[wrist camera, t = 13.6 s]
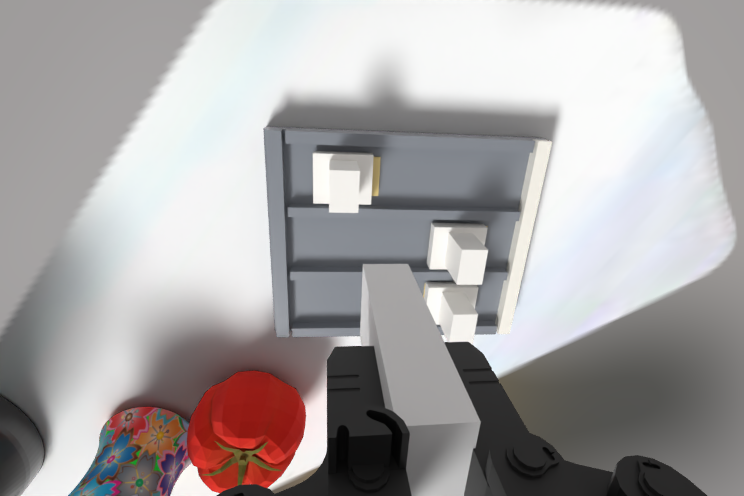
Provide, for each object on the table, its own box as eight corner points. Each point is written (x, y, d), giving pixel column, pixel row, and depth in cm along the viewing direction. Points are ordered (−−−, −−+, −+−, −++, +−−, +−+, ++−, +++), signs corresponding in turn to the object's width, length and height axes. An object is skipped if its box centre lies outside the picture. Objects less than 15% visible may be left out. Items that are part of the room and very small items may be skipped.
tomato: (225, 439, 38) (201, 519, 31) (191, 368, 34) (155, 441, 27) (319, 419, 38) (316, 494, 31) (295, 346, 34) (286, 412, 28)
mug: (163, 381, 34) (97, 498, 25) (225, 445, 38) (189, 570, 28) (53, 434, 36) (-51, 567, 26) (123, 492, 39) (55, 627, 30)
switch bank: (276, 322, 33) (273, 337, 31) (266, 126, 27) (261, 129, 25) (502, 320, 35) (512, 333, 33) (541, 137, 29) (555, 141, 27)
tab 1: (313, 199, 28) (310, 218, 24) (313, 150, 26) (310, 162, 23) (369, 200, 28) (375, 219, 24) (372, 152, 27) (378, 164, 23)
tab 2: (426, 263, 31) (440, 289, 27) (431, 222, 29) (446, 244, 25) (476, 263, 31) (496, 289, 27) (482, 223, 30) (505, 244, 26)
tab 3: (421, 318, 33) (433, 349, 29) (425, 281, 31) (439, 309, 27) (468, 317, 33) (486, 348, 29) (474, 281, 32) (493, 309, 28)
